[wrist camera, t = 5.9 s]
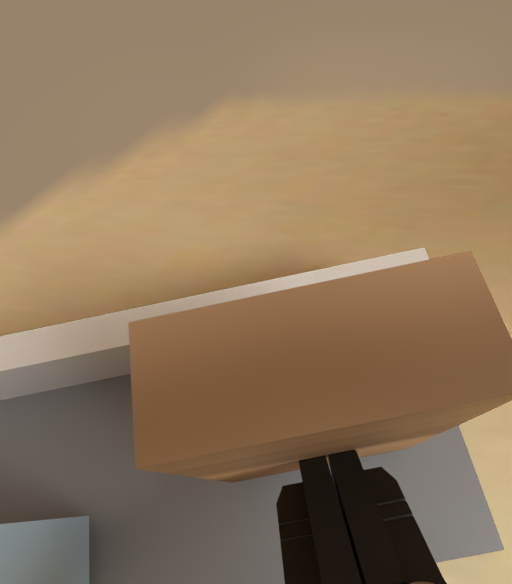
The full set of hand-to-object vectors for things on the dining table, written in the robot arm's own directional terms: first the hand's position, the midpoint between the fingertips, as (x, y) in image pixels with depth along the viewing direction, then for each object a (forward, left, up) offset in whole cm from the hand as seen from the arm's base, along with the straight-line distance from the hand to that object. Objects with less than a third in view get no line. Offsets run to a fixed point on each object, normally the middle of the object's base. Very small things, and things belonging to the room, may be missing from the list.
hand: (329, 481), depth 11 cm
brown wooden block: (-1, -1, -3) cm, 4 cm away
